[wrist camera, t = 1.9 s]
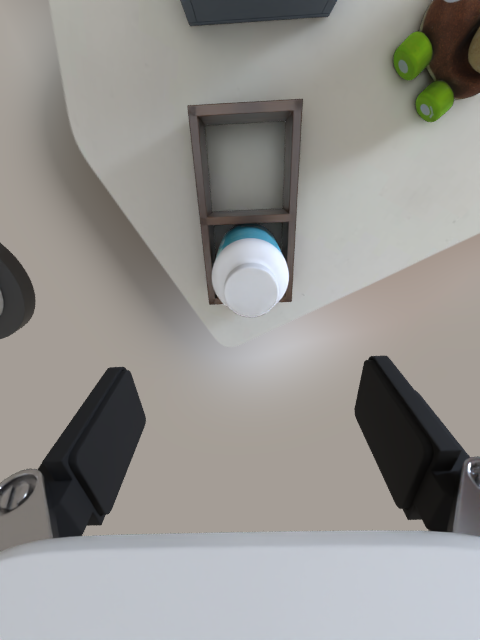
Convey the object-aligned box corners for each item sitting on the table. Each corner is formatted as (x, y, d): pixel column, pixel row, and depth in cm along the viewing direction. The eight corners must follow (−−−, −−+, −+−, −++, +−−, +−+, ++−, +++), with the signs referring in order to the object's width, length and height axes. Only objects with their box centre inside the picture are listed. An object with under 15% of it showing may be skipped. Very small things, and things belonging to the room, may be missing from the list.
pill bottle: (213, 227, 33) (196, 257, 21) (273, 215, 32) (290, 239, 20) (226, 283, 36) (218, 336, 24) (280, 273, 35) (299, 324, 24)
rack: (213, 289, 37) (209, 304, 32) (196, 116, 27) (187, 105, 23) (285, 286, 36) (291, 302, 32) (293, 111, 27) (303, 98, 23)
